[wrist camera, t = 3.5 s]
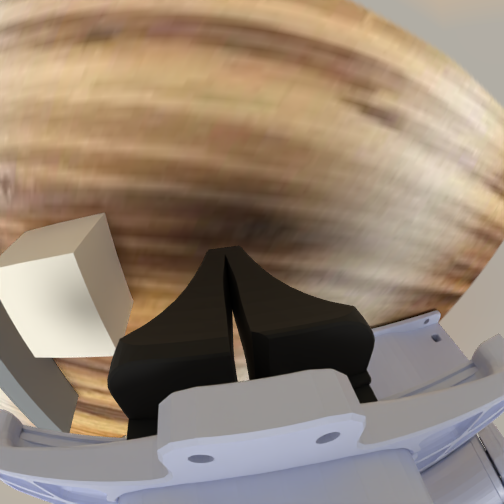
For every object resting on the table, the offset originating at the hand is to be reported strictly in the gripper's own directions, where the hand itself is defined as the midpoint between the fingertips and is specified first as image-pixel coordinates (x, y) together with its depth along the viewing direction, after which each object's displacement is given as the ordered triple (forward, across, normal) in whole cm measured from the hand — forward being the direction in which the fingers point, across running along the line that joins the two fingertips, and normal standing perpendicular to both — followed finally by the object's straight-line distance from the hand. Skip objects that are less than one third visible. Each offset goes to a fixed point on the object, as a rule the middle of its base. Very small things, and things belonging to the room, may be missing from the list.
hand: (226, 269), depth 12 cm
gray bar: (+2, +14, +3) cm, 15 cm away
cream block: (+2, +8, 0) cm, 8 cm away
